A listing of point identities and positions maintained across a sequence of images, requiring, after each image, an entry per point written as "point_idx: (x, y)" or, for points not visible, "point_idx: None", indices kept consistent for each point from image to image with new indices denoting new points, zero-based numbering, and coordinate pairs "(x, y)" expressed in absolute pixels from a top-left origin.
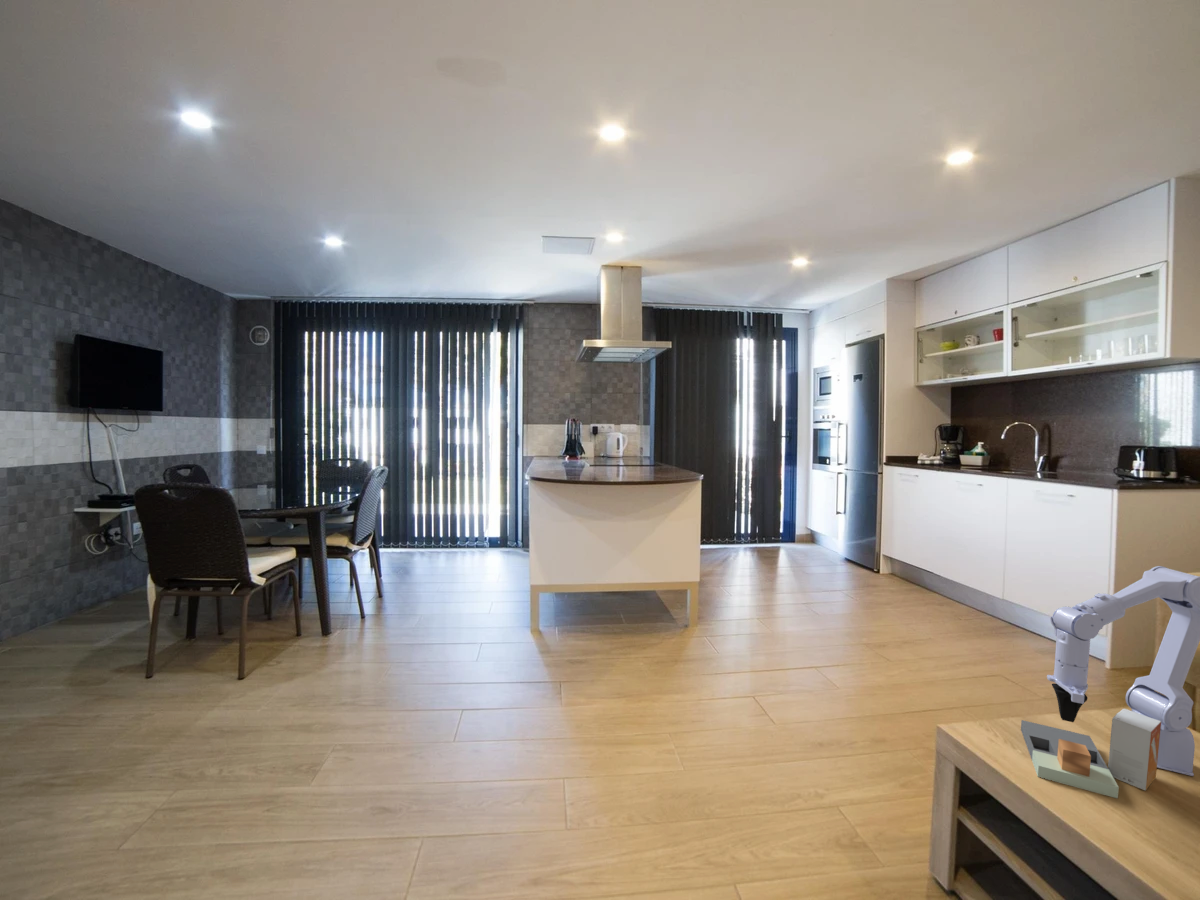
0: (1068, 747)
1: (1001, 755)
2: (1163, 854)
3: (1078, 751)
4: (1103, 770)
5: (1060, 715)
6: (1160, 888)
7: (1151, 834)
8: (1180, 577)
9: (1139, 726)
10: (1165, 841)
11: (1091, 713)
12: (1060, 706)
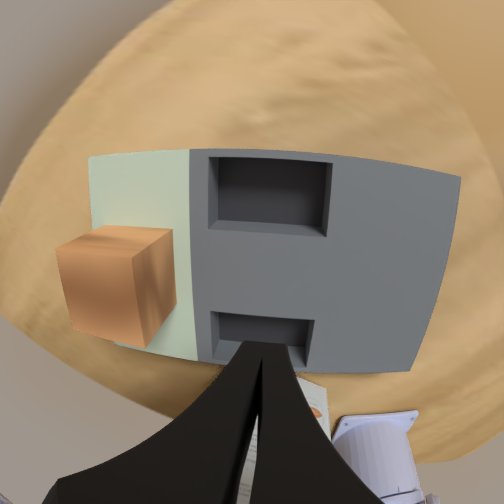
0: (79, 274)
1: (188, 60)
2: (24, 316)
3: (74, 301)
4: (181, 346)
5: (267, 350)
6: None
7: (54, 326)
8: None
9: None
10: (53, 337)
11: None
12: (194, 404)
